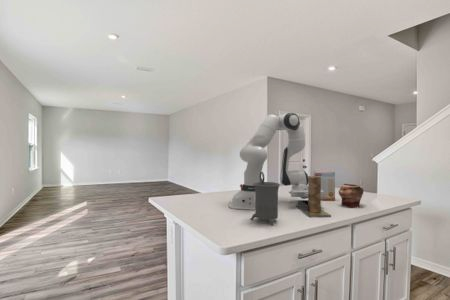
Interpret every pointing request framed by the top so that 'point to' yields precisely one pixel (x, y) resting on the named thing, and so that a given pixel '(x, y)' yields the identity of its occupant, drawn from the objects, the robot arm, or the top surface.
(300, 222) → the top surface
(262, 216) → the footed curly-handled cup
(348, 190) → the decorative planter
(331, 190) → the cracker box
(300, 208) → the steel chute
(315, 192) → the walnut block
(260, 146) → the robot arm
